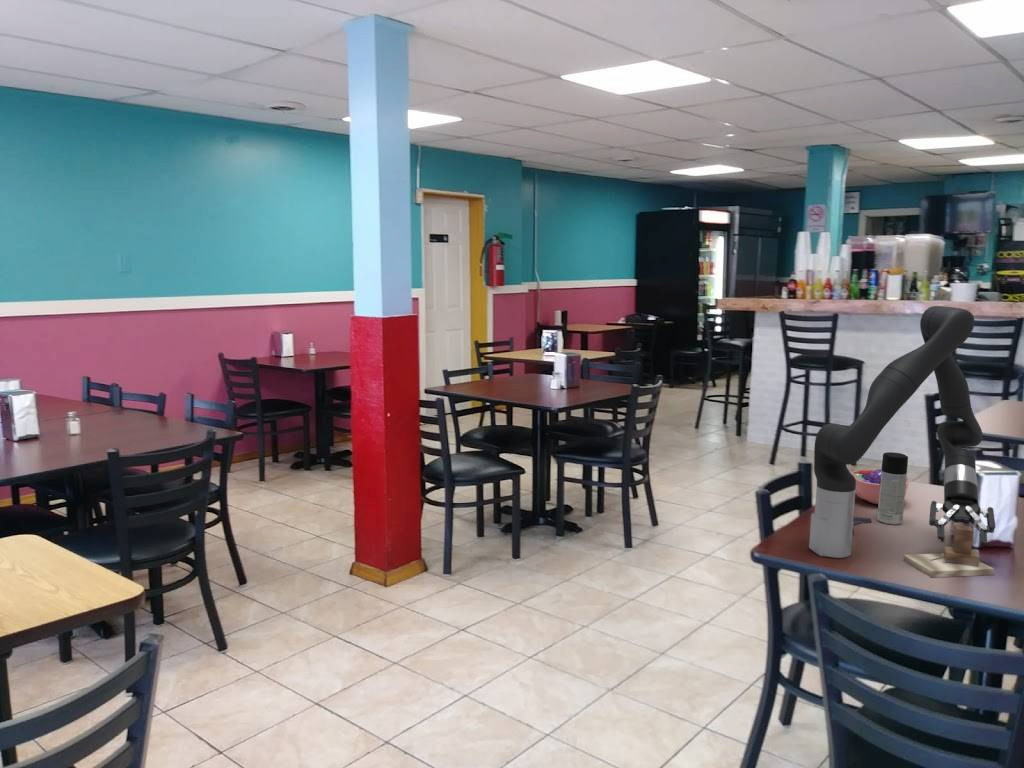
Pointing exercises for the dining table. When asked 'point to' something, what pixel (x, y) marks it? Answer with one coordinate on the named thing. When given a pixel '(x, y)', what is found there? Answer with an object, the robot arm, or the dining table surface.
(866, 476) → the cell model
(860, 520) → the bracket
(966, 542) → the brown wooden stepped block
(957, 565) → the board
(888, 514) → the spray can
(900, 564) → the dining table surface
